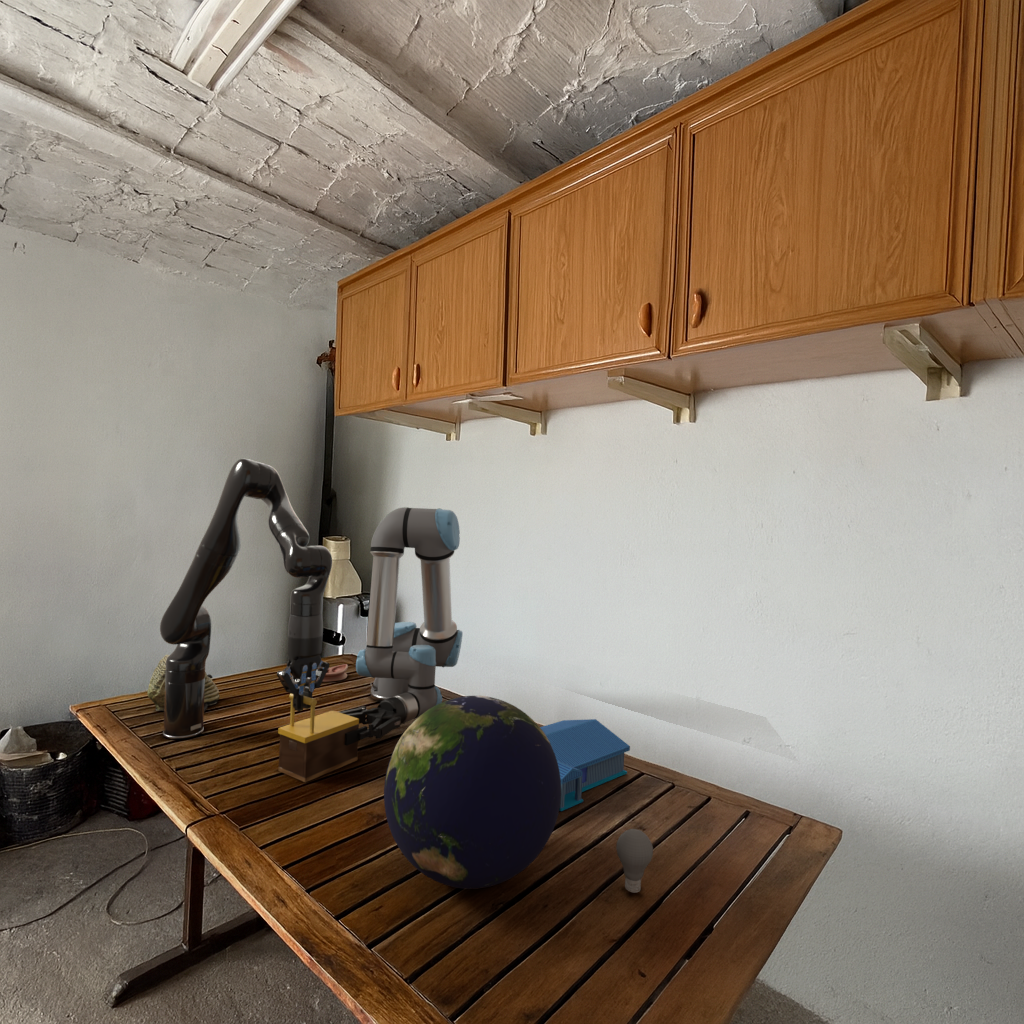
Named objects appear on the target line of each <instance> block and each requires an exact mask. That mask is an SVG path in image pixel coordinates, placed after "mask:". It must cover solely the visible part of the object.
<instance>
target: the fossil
mask: <svg viewBox="0 0 1024 1024" xmlns="http://www.w3.org/2000/svg"><path fill="white" fill-rule="evenodd" d="M169 655H170V654H165V655H164V656H163V657H162V658H161V659H160V660H159V662H158V663H157V666H156V667H155V669H154V670H153V672H152V675H151V677H150V680H149V684H148V688H147V697H148V699H149V700H150V701H152V703H153V704H154V706H155V711H158V712H159V711H162V712H163V711H164V705H165V674H166V660H167V658H168V656H169ZM207 675H208V674H207V672H206V671H205V693H204V704H206V703H207V705H208V706H213V705H215V704H217V703H218V701H219V699H220V698H221V696H220V690H219V688H218V686H217V685H216V683H215V682H214V681H213V678H209V677H208V676H207Z"/></svg>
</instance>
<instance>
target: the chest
mask: <svg viewBox="0 0 1024 1024" xmlns="http://www.w3.org/2000/svg"><path fill="white" fill-rule="evenodd" d="M359 726H360V723H359V724H357V725H354V726H352V727H349V728H346V729H343V730H341V731H338V732H335V733H332V734H330V735H327V736H324V737H321V738H319V739H316V740H313V741H310V742H308V743H302V742H300V741H297V740H295V739H292V738H289V737H287V736H284V735H281V734H279V752H278V772H280V773H282V774H284V775H287V776H290V777H292V778H294V779H296V780H298V781H301V782H303V783H307V782H310V781H312V780H314V779H317V778H319V777H322V776H324V775H326V774H329V773H331V772H333V771H336V770H338V769H340V768H342V767H345V766H347V765H350V764H352V763H354V762H357V761H358V760H359V757H358V756H359V755H358V754H359V752H358V749H359V741H357V742H355V743H352V744H350V745H347V746H346V745H345V733H348V732H350V731H353V730H356V729H358V728H360V727H359Z"/></svg>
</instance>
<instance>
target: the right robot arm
mask: <svg viewBox="0 0 1024 1024" xmlns="http://www.w3.org/2000/svg"><path fill="white" fill-rule="evenodd" d="M460 530H461V529H460V524H459V520H458V516H457V515H456V512H454V511H453V510H451V509H443V508H423V507H422V508H421V507H407V506H405V507H398V508H395V509H393V510H391V511H389V512H388V513H387V514H386V515H385V516H384V517H383V518H382V519H381V520H380V522H379V523H378V525H377V526H376V528H375V530H374V532H373V535H372V538H371V541H370V551H369V553H370V554H371V555H372V570H371V582H370V583H371V584H370V592H369V593H370V594H369V607H368V619H367V629H366V631H367V632H366V643H365V644H366V645H365V646H366V647H365V648H364V649H360V650H359V651H358V653H357V656H356V660H355V661H356V662H355V671H356V673H357V675H358V676H360V677H366V678H373V679H374V680H373V683H372V684H371V688H370V698H371V699H372V700H374V701H376V702H379V704H378V705H377V707H372V708H369V709H367V706H366V705H361V706H359V707H356V708H352V709H346V710H343V711H339V712H340V713H343V714H346V715H349V716H352V717H355V718H358V719H359V724H362V725H363V726H361V727H359V728H358V729H356V730H353V731H350V732H348V733H345V745H346V746H347V745H350V744H352V743H355V742H357V741H358V742H359V741H363V740H365V739H368V738H370V739H371V738H374V737H375V739H376V740H379V739H381V738H383V737H385V736H386V735H387V734H389V733H390V732H393V730H395V729H399V728H401V725H405V724H406V723H408V722H410V721H414V720H416V719H417V718H418V717H419V716H421V715H422V714H423V713H425V712H426V711H427V710H429V709H430V708H432V707H434V706H436V705H438V704H440V703H442V702H443V695H442V693H441V690H440V688H439V687H438V686H437V685H436V667H437V668H438V667H439V668H440V667H441V668H453V667H454V668H455V666H457V664H458V662H459V657H460V653H461V648H462V641H463V631H462V630H460V629H458V625H457V623H456V622H455V621H454V620H453V617H452V586H451V562H450V560H451V559H450V558H451V557H453V556H454V554H455V551H457V550H458V549H459V547H460V540H461V538H460V537H461V536H460ZM406 548H407V549H408V548H409V549H414V555H415V557H416V558H417V559H418V560H420V575H421V588H422V589H421V590H422V607H423V622H422V623H421V624H420V626H419V627H417V624H416V622H414V621H413V622H412V621H399V622H396V616H397V615H396V614H397V613H396V612H397V600H398V587H399V578H400V577H399V574H400V563H401V562H400V561H401V558H402V557H404V556H405V549H406ZM367 725H368V726H367Z"/></svg>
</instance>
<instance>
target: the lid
mask: <svg viewBox="0 0 1024 1024" xmlns="http://www.w3.org/2000/svg"><path fill="white" fill-rule="evenodd" d="M288 698H289V699H290V713H289V716H290V717H289V724H287V725H283V726H280V727H278V731H277V733H278V734H279V735H280V734H281V735H284V736H287V737H289V738H292V739H295V740H297V741H300V742H302V743H308V742H310V741H313V740H316V739H319V738H321V737H324V736H327V735H330V734H332V733H335V732H338V731H341V730H343V729H346V728H349V727H352V726H354V725H357V724H359V725H360V723H359V719H358V718H355V717H352V716H349V715H346V714H343V713H340V712H341V711H336V710H328V711H326V712H324V713H321V714H315V712H316V705H317V703H318V700H317V699H316V698H313V697H312V698H310V697H306V696H304V699H303V703H305V704H308V705H311V708H310V712H309V714H310V715H309V717H308V718H305V719H301V720H298V721H295V712H296V710H295V709H294V708H293V694H291V693H289V695H288Z"/></svg>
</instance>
